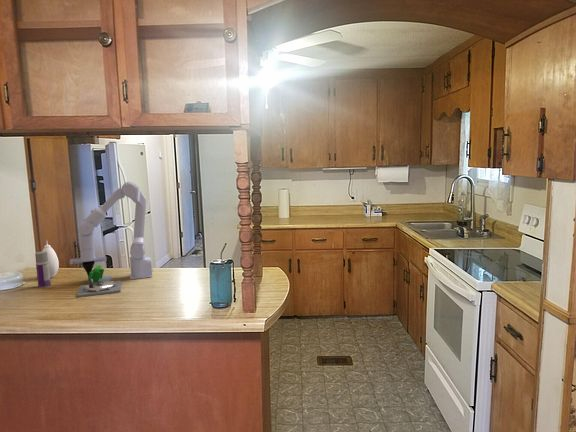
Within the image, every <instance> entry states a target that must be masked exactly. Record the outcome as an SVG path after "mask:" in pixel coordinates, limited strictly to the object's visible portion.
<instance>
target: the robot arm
mask: <svg viewBox="0 0 576 432" xmlns="http://www.w3.org/2000/svg"><path fill="white" fill-rule="evenodd" d="M141 190H142V189H140V187H139V186H138V185H137V184H136V183H134V182H133V181H127V182H125V183H123V185H121V186H120V187H118V189H116V190H115V191H114V192H113V193H112V194H111V195H110V196H109V197H108V198H107V199H106V200H105V202H104V203H103V204H102V205H101V206H100V207H95V208H94V209H92V210H90V213H89V214H88V216H86V218H83V222H82V223H80V224H79V225H78V233H79V246H80V247H79V248H80V257H79V258H70V259H69V264H70V265H74V264H82V267H83V269H84V270H85V272H86V275H87V278H88V277H89V273H90V272H91V271H92V270H93V269H94V265H95V263H99V262H105V263H106V262H107V256H96V247H95V246H96V245H95V237H94V230H95V228H97V227H99V225H100V224H101V223H102V222H103V221H104V220H105V219H106V217H107V212H108V211H109V209H111V208H112V207H113V205H115V204H116V203H117V201H119V200H121V199H124V198H125V196H126V197H127V198H129V199H131V201H133V203H135V210H134V223H133V240H132V241H133V242H132V244H131V245H130V250H129V251H130V252H129V253H130V257H129V265H130V274H129V275H130V277H129V278H130V280H136V279H144V278H146V279H147V278H153V268H152V258H151V256H147V255H146V250H145V249H146V247H145V245H144V240H145V237H144V236H145V225H146V224H145V223H146V209H147V198H146V197H145V195H144V194H143V192H142V191H141Z"/></svg>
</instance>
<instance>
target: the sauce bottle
mask: <svg viewBox="0 0 576 432" xmlns="http://www.w3.org/2000/svg"><path fill="white" fill-rule="evenodd" d="M48 243H49V242H48V239H46V245H44V246H43V249H42V250H41V252H44V251H46V252H47V255H48V262H49V272H50V279H51V278H54V277H55V275H57V274H58V272H59V266H60V262H59V258H58V255H57V253H56V252H55V250H54V248H53V247H52V246H51V245H50V244H48Z"/></svg>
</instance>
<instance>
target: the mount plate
mask: <svg viewBox="0 0 576 432" xmlns="http://www.w3.org/2000/svg"><path fill="white" fill-rule="evenodd" d="M112 281H113V282H114V283H116V286H114V287H112V288H111V289H107V290H102V291H99V292H96V291H88V292H87V291H86V289H83V286H86V285H88V284H89V283H88V284H80V286H79V289H78V291H77V294H76V298H83V297H84V298H85V297H91V296H92V297H93V296H99V295H101V296H102V295H108V294H115V293H117V294H118V293H121V292H122V291H121V287H122V286H121V285H122V281H121V280H115V281H114V280H112Z"/></svg>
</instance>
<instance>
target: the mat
mask: <svg viewBox="0 0 576 432" xmlns="http://www.w3.org/2000/svg"><path fill="white" fill-rule="evenodd" d="M100 281H112V275H106V276H102V279H101V278H99V282H100ZM94 282H96V281H93V283H94Z"/></svg>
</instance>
